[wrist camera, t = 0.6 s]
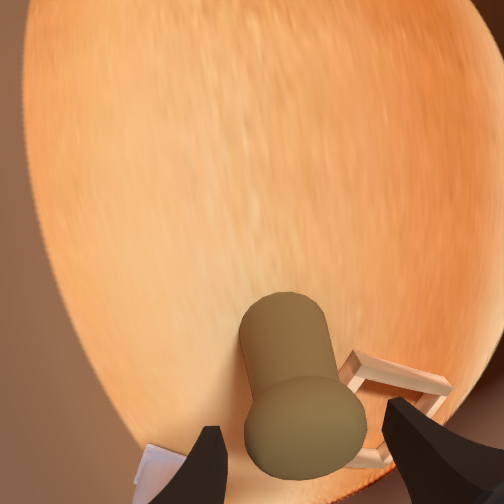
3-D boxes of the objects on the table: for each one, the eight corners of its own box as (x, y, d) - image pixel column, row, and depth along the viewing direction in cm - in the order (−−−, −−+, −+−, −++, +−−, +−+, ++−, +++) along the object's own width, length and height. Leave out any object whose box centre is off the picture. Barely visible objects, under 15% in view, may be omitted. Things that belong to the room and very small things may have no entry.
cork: (235, 365, 20) (226, 494, 10) (244, 286, 19) (240, 404, 8) (316, 370, 20) (356, 490, 10) (335, 295, 19) (411, 402, 8)
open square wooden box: (377, 455, 23) (383, 468, 21) (286, 443, 22) (288, 459, 20) (443, 376, 21) (453, 387, 19) (353, 349, 20) (362, 364, 18)
